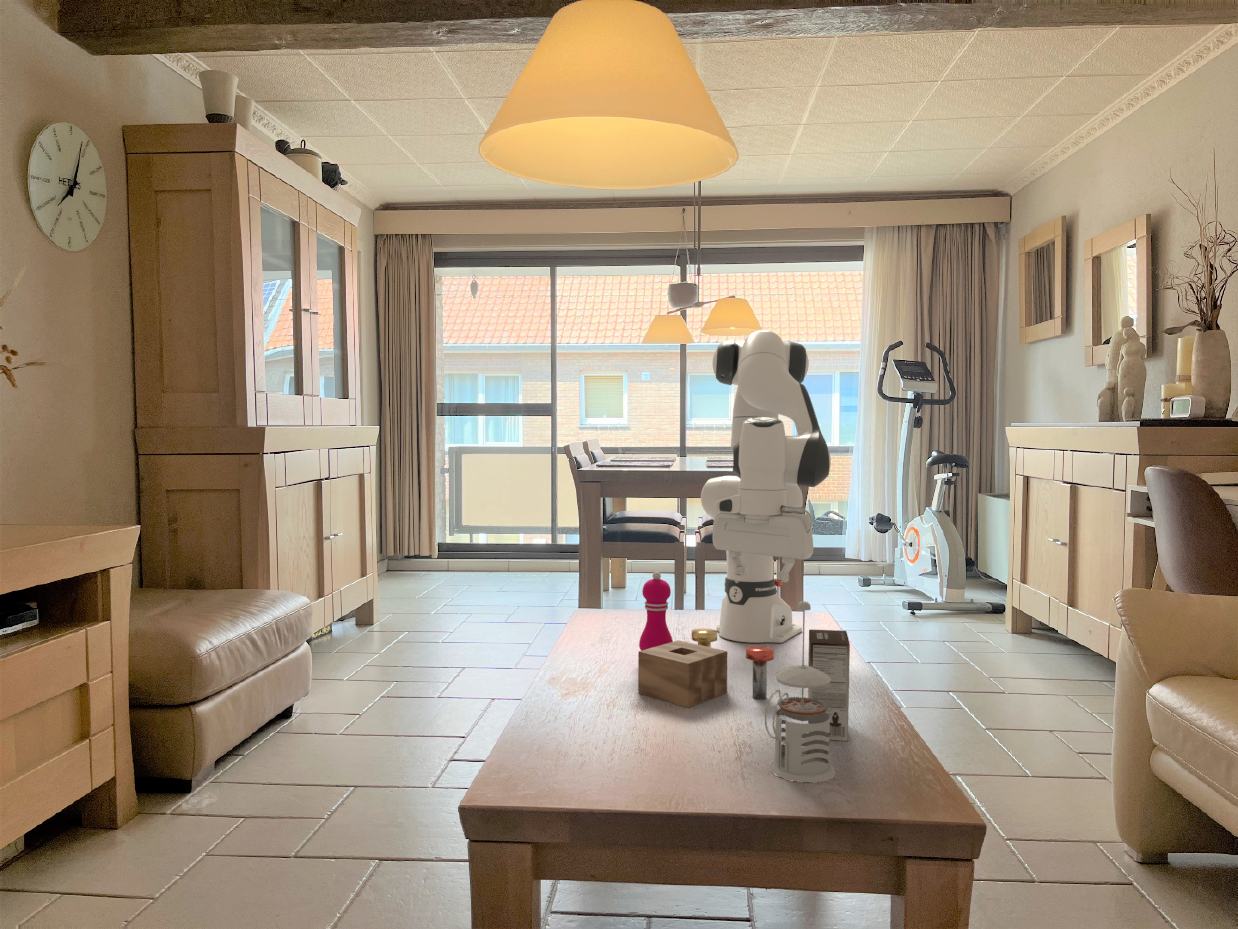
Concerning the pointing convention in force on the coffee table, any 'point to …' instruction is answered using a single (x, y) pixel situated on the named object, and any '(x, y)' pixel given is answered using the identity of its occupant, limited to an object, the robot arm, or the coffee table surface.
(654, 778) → the coffee table surface
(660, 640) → the pepper mill
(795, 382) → the robot arm
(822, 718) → the french press
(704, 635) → the brass pin
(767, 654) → the red round-headed grey cylinder
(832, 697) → the coffee box
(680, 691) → the hitch block
